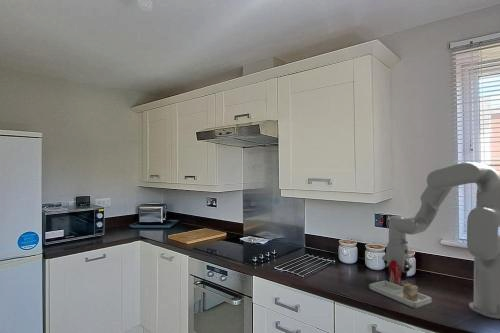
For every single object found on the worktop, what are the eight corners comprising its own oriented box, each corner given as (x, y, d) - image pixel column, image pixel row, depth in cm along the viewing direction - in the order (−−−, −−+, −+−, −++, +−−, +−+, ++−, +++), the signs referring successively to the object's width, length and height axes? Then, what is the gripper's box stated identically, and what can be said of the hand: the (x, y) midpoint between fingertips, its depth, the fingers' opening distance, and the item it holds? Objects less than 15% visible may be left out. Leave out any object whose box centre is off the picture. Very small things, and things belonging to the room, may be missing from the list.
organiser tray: (431, 303, 127) (431, 297, 127) (415, 309, 121) (415, 303, 121) (385, 285, 146) (385, 280, 146) (368, 289, 140) (368, 284, 140)
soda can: (391, 279, 153) (391, 256, 154) (406, 283, 149) (406, 259, 149) (387, 283, 148) (387, 259, 148) (402, 287, 144) (403, 262, 144)
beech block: (417, 300, 128) (417, 286, 128) (411, 302, 126) (411, 288, 126) (408, 296, 131) (408, 283, 132) (402, 298, 130) (403, 284, 130)
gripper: (418, 244, 143) (418, 281, 143) (386, 237, 158) (386, 270, 158) (409, 246, 139) (408, 284, 139) (376, 238, 155) (376, 273, 154)
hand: (396, 277), depth 149 cm, fingers closed on soda can, 7 cm apart
